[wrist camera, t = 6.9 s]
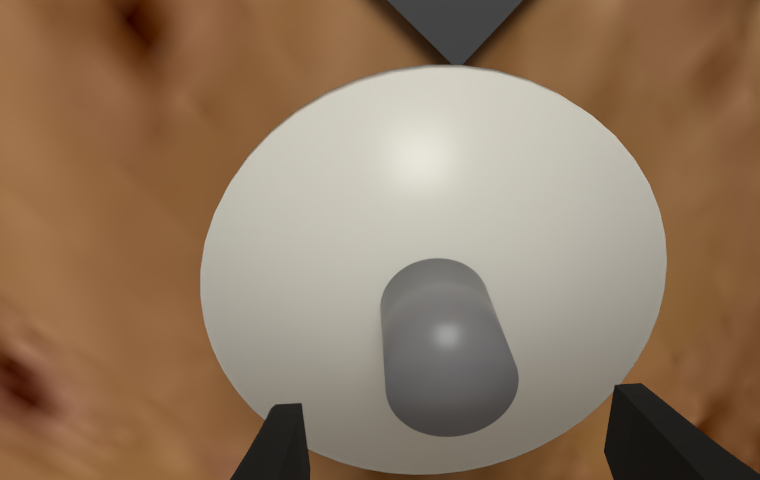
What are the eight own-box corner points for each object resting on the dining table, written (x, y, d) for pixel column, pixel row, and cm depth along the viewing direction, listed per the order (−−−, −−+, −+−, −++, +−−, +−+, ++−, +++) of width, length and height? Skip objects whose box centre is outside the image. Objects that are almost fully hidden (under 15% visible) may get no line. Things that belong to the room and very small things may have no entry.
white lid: (743, 270, 18) (851, 358, 14) (437, 511, 22) (454, 631, 18) (422, -58, 14) (448, -64, 10) (118, 314, 18) (51, 414, 14)
